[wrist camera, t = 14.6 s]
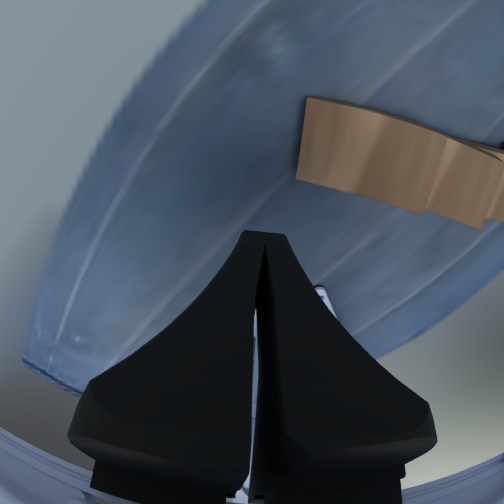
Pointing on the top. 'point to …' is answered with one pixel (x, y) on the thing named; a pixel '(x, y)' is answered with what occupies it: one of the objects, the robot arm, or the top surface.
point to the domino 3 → (500, 207)
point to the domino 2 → (465, 183)
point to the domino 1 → (369, 153)
